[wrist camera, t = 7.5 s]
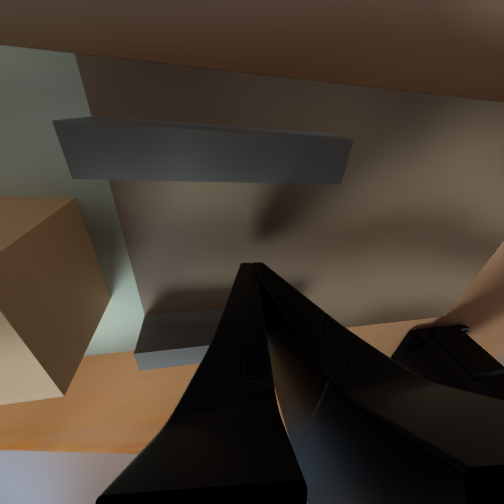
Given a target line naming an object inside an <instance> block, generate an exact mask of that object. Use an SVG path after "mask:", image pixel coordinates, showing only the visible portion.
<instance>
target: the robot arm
mask: <svg viewBox="0 0 504 504" xmlns="http://www.w3.org/2000/svg"><path fill="white" fill-rule="evenodd" d="M469 331H470V328H469V327H468V326H466V325H457V326H449V327H441V328H432V329H424V330H416V331H412V332H411V333H409V334H408V336H407V337H406V339H405V340H404V342H403V343H402V345H401V346H400V347H399V349H398V350H397V352H396V353H395V355H394V356H393V358H392V359H391V358H389V357H388V356H386V355H385V354H383V353H382V352H380V351H379V350H377V349H376V348H374V347H373V346H371V345H370V344H368V343H367V342H365V341H364V340H362V339H361V338H359V337H358V336H357V335H355V334H354V333H352V332H351V331H349V330H348V329H347V328H345V327H344V326H343V325H341V324H340V323H339V322H337V321H336V320H335V319H334V318H332V317H331V316H330V315H328V314H327V313H324V311H323V310H322V309H321V308H320V307H318V306H317V305H316V304H314V303H313V302H312V301H311V300H309V299H308V298H307V297H306V296H304V295H303V294H302V293H301V292H299V291H298V290H297V289H296V288H294V287H293V286H292V285H291V284H289V283H288V282H287V281H286V280H284V279H283V278H282V277H280V276H279V275H278V274H277V273H275V272H274V271H273V270H272V269H270V268H269V267H268V266H267V265H265V264H264V263H263V262H253V263H252V264H251V263H241V264H240V266H239V269H238V272H237V274H236V277H235V280H234V283H233V285H232V288H231V291H230V293H229V296H228V299H227V301H226V304H225V307H224V310H223V312H222V315H221V318H220V320H219V323H218V325H217V328H216V331H215V333H214V336H213V338H212V340H211V343H210V345H209V347H208V349H207V351H206V353H205V355H204V357H203V359H202V361H201V363H200V365H199V367H198V368H197V370H196V372H195V374H194V376H193V377H192V379H191V381H190V383H189V385H188V387H187V388H186V390H185V392H184V394H183V396H182V398H181V399H180V401H179V403H178V405H177V406H176V408H175V410H174V411H173V413H172V415H171V416H170V418H169V419H168V421H167V422H166V424H165V425H164V426H163V428H162V429H161V430H160V432H159V433H158V434H157V435H156V436H155V437H154V438H153V439H152V440H151V442H150V443H149V444H148V445H147V446H146V447H145V448H144V449H143V450H142V451H141V452H140V453H139V454H138V455H137V457H136V458H135V459H134V460H133V461H132V462H131V463H130V464H129V465H128V466H127V467H126V468H125V469H124V471H123V472H122V473H121V474H120V475H119V476H118V477H117V478H116V479H115V480H114V481H113V482H112V483H111V484H110V485H109V487H108V488H107V489H106V490H105V491H104V492H103V493H102V494H101V495H100V496H99V497H98V498H97V500H96V504H307V503H308V504H504V366H503V365H501V364H500V363H499V362H498V361H497V360H496V359H495V358H493V357H492V356H491V355H490V354H489V353H488V352H487V351H485V350H484V349H483V348H482V347H481V346H480V345H478V344H477V343H476V342H475V341H474V340H473V339H472V338H470V337H469V336H468V335H467V333H468V332H469ZM274 386H275V387H274ZM274 388H275V390H276V393H277V397H278V400H279V404H280V407H281V411H282V414H283V418H284V421H285V425H286V428H287V432H288V435H287V432H286V430H285V427H284V424H283V422H282V419H281V416H280V413H279V409H278V405H277V400H276V394H275V390H274ZM288 436H289V437H288ZM289 439H290V440H289Z"/></svg>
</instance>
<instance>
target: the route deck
mask: <svg viewBox="0 0 504 504" xmlns="http://www.w3.org/2000/svg"><path fill="white" fill-rule="evenodd" d="M0 197H52V198H76V201H77V204H78V207H79V210H80V212H81V215H82V218H83V221H84V224H85V226H86V229H87V232H88V235H89V238H90V240H91V243H92V246H93V249H94V252H95V254H96V257H97V260H98V263H99V266H100V268H101V271H102V274H103V277H104V279H105V282H106V285H107V288H108V291H109V293H110V296H111V300H110V302H109V304H108V306H107V308H106V310H105V312H104V314H103V316H102V318H101V320H100V322H99V325H98V327H97V329H96V331H95V333H94V335H93V337H92V339H91V341H90V343H89V345H88V347H87V350H86V352H85V354H84V356H88V355H97V354H106V353H115V352H124V351H133V350H135V352H134V356H135V358H136V361H137V364H138V367H139V370H148V369H156V368H164V367H172V366H180V365H188V364H196V363H201V361H202V359H203V357H204V355H205V353H206V351H207V349H208V347H209V345H210V343H211V340H212V338H213V336H214V333H215V331H216V328H217V325H218V323H219V320H220V318H221V315H222V312H223V310H224V307H225V304H226V301H227V299H228V296H229V293H230V291H231V288H232V285H233V283H234V280H235V277H236V274H237V272H238V269H239V266H240V264H241V263H251V264H252V263H253V262H263V263H264V264H265V265H267V266H268V267H269V268H270V269H272V270H273V271H274V272H275V273H277V274H278V275H279V276H280V277H282V278H283V279H284V280H286V281H287V282H288V283H289V284H291V285H292V286H293V287H294V288H296V289H297V290H298V291H299V292H301V293H302V294H303V295H304V296H306V297H307V298H308V299H309V300H311V301H312V302H313V303H314V304H316V305H317V306H318V307H320V308H321V309H322V310H323V311H324V313H327V314H328V315H330V316H331V317H332V318H334V319H335V320H336V321H337V322H339V323H340V324H341V325H343V326H344V327H353V326H362V325H371V324H380V323H389V322H398V321H408V320H417V319H426V318H435V317H444V316H446V315H447V313H448V312H449V311H450V310H451V308H452V307H453V306H454V304H455V303H456V302H457V300H458V299H459V298H460V297H461V295H462V294H463V293H464V291H465V290H466V289H467V288H468V286H469V285H470V284H471V282H472V281H473V280H474V278H475V277H476V276H477V275H478V273H479V272H480V271H481V269H482V268H483V267H484V265H485V264H486V263H487V262H488V260H489V259H490V258H491V256H492V255H493V254H494V252H495V251H496V250H497V249H498V247H499V246H500V245H501V243H502V242H503V241H504V102H498V101H489V100H480V99H471V98H463V97H454V96H445V95H436V94H427V93H419V92H410V91H401V90H392V89H383V88H375V87H366V86H357V85H348V84H339V83H331V82H322V81H313V80H304V79H296V78H287V77H278V76H269V75H260V74H252V73H243V72H234V71H225V70H216V69H208V68H199V67H190V66H181V65H173V64H164V63H155V62H146V61H137V60H129V59H120V58H111V57H102V56H93V55H85V54H76V53H67V52H58V51H50V50H41V49H32V48H23V47H14V46H6V45H0Z"/></svg>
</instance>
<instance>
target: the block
mask: <svg viewBox="0 0 504 504" xmlns="http://www.w3.org/2000/svg"><path fill="white" fill-rule="evenodd" d="M110 300H111V296H110V293H109V291H108V288H107V285H106V282H105V279H104V277H103V274H102V271H101V268H100V266H99V263H98V260H97V257H96V254H95V252H94V249H93V246H92V243H91V240H90V238H89V235H88V232H87V229H86V226H85V224H84V221H83V218H82V215H81V212H80V210H79V207H78V204H77V201H76V198H52V197H0V405H3V404H10V403H18V402H25V401H32V400H40V399H47V398H54V397H62V396H64V395H65V393H66V391H67V389H68V387H69V385H70V383H71V381H72V379H73V377H74V375H75V372H76V370H77V368H78V366H79V364H80V362H81V360H82V358H83V356H84V354H85V352H86V350H87V347H88V345H89V343H90V341H91V339H92V337H93V335H94V333H95V331H96V329H97V327H98V325H99V322H100V320H101V318H102V316H103V314H104V312H105V310H106V308H107V306H108V304H109V302H110Z"/></svg>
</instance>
